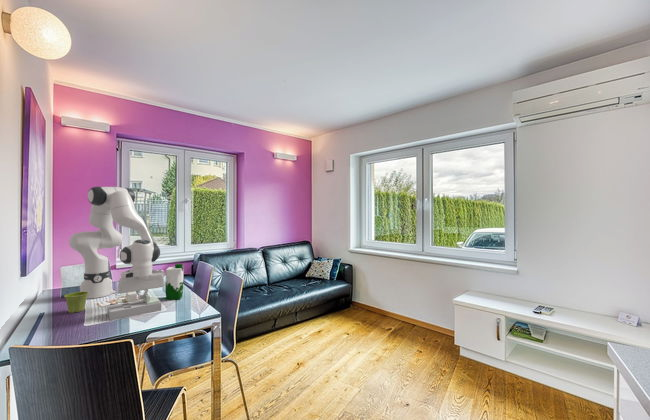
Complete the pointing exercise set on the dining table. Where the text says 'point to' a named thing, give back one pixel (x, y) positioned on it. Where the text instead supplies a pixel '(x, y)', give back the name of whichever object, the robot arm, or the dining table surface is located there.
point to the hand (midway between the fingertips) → (141, 298)
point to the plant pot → (76, 301)
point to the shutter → (150, 299)
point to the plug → (131, 296)
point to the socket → (131, 309)
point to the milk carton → (174, 282)
